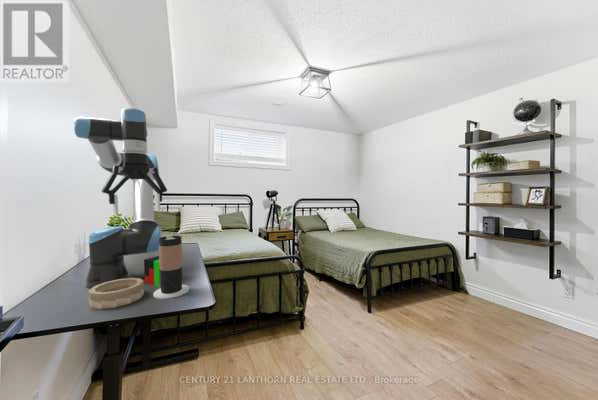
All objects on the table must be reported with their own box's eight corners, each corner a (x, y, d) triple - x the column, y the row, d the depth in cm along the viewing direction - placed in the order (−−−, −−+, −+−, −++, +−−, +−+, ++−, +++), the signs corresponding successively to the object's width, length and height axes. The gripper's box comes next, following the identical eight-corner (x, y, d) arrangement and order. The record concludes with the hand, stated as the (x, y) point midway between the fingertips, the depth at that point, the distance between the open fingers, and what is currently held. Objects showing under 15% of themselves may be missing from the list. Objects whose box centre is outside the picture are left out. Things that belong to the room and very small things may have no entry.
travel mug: (174, 294, 91) (172, 240, 89) (155, 293, 92) (153, 239, 91) (187, 286, 98) (186, 235, 97) (169, 285, 99) (168, 235, 98)
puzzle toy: (166, 275, 115) (166, 254, 115) (181, 278, 111) (180, 256, 110) (144, 282, 107) (143, 259, 106) (159, 286, 102) (158, 262, 102)
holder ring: (86, 300, 89) (85, 286, 89) (136, 287, 101) (135, 275, 101) (94, 313, 79) (93, 297, 79) (149, 297, 90) (148, 284, 90)
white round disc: (148, 293, 95) (148, 291, 95) (181, 284, 103) (181, 282, 103) (160, 302, 86) (160, 299, 86) (194, 291, 95) (194, 289, 95)
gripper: (94, 148, 79) (98, 215, 80) (174, 155, 98) (176, 209, 99) (88, 150, 84) (92, 214, 85) (166, 157, 103) (168, 208, 104)
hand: (137, 212), depth 92 cm, fingers open, 13 cm apart
